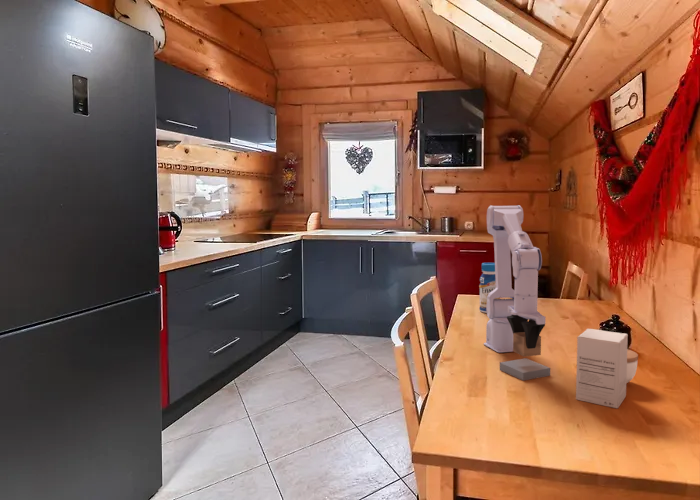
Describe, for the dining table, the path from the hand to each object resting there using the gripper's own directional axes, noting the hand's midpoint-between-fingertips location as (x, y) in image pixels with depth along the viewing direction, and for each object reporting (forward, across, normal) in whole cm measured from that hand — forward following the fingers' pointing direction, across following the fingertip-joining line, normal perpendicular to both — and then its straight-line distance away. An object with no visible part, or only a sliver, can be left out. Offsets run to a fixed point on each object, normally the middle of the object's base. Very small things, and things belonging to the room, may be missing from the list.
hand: (524, 345), depth 133 cm
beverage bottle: (+8, -70, +28) cm, 76 cm away
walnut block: (+2, 0, 0) cm, 2 cm away
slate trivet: (+8, 0, 0) cm, 8 cm away
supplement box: (+8, +20, +7) cm, 23 cm away
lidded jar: (+8, +12, +17) cm, 22 cm away
